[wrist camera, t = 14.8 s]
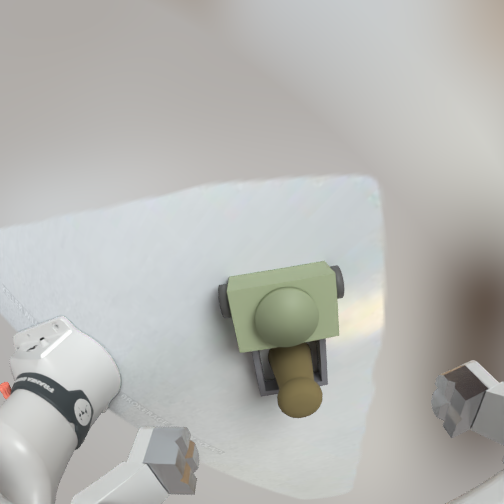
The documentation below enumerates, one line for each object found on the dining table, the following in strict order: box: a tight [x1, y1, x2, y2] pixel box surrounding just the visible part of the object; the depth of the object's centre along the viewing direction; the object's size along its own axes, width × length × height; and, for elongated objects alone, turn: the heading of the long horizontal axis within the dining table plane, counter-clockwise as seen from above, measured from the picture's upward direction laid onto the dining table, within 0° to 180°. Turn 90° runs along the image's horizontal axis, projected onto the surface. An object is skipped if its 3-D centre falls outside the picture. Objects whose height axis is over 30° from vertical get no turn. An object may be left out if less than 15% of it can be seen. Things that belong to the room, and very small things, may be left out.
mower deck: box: [218, 261, 344, 396], centre depth 36 cm, size 14×18×6 cm
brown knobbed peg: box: [268, 342, 322, 418], centre depth 35 cm, size 6×6×11 cm
